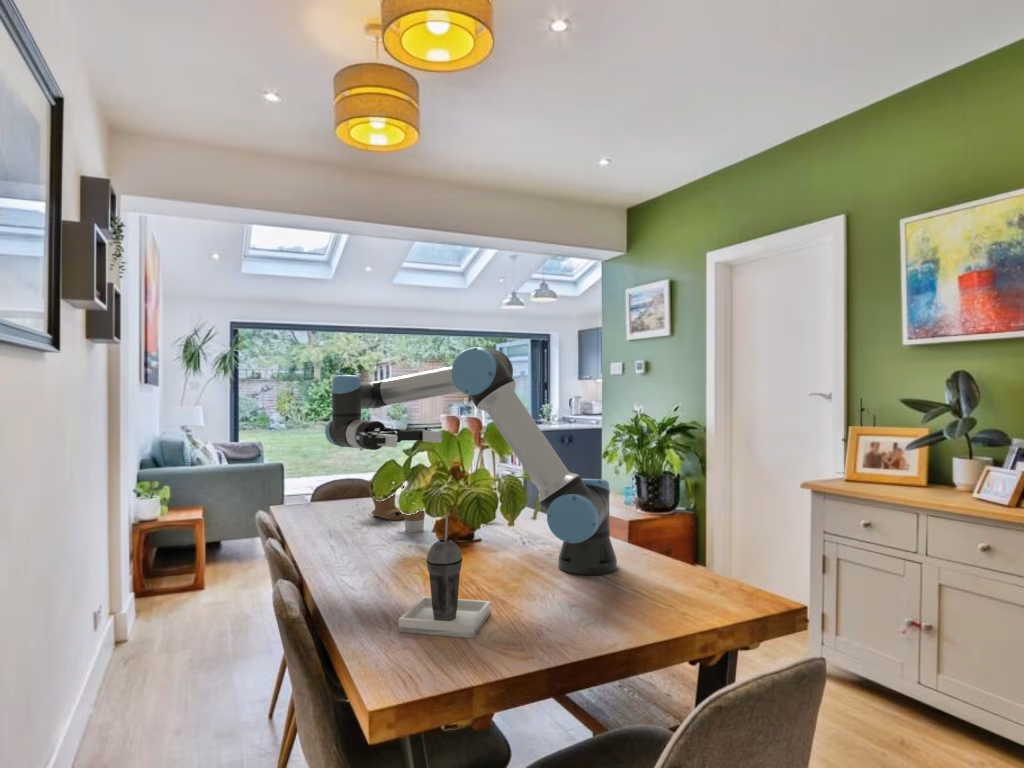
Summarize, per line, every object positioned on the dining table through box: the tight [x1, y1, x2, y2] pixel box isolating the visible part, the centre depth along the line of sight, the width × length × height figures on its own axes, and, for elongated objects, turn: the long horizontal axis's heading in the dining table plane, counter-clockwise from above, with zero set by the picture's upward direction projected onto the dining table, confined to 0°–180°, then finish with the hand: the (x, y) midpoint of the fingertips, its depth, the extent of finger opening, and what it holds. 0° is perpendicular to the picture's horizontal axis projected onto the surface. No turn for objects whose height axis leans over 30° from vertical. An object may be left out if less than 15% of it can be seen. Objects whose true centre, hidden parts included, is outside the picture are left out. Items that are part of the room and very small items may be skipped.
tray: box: [398, 595, 492, 639], centre depth 124 cm, size 15×13×2 cm
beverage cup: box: [425, 516, 463, 621], centre depth 124 cm, size 7×7×20 cm
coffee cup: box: [401, 484, 426, 533], centre depth 203 cm, size 8×8×15 cm
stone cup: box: [367, 478, 404, 521], centre depth 222 cm, size 15×12×15 cm
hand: (419, 439), depth 145 cm, fingers open, 13 cm apart
